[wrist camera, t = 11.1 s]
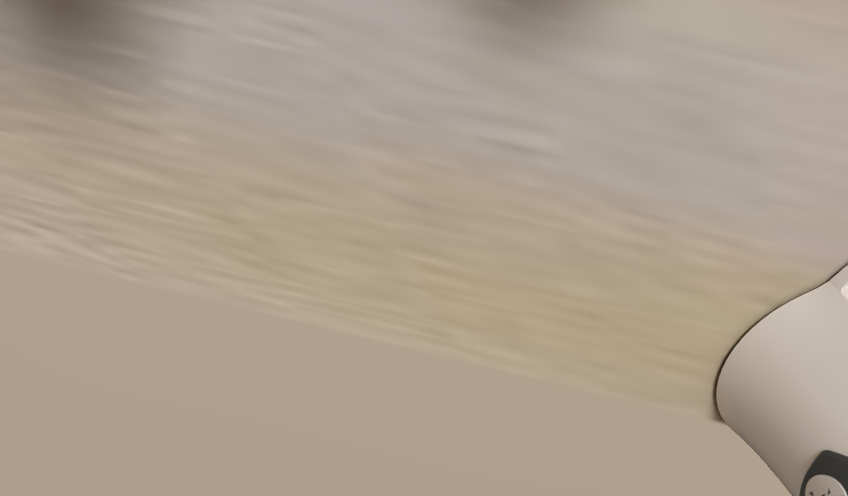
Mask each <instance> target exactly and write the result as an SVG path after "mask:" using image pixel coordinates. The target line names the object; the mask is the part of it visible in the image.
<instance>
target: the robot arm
mask: <svg viewBox="0 0 848 496" xmlns="http://www.w3.org/2000/svg"><path fill="white" fill-rule="evenodd" d="M716 398H717V406H718V409H719V412H720V414H721V416H722V418H723V420H724V421H725V423H726V424H727V425H728V426H729V427H730V428H731V429H732V430H733V431H734V432H736V433H737V434H738V435H739V436H740V437H741V438H742V439H743V440H744V441H745V442H746V443H747V444H748V445H749V446H750V447H751V448H752V449H753V450H754V451H755V452H756V453H757V454H758V455H759V456H760V457H761V458H762V460H763V461H764V462H765V463H766V464H767V465H768V467H769V468H770V469H771V470H772V471H773V472H774V473H775V475H776V476H777V477H778V478H779V479H780V481H781V482H782V483H783V484H784V486H785V487H786V488H787V489H788V491H789V492H790V493H791V494H792V496H848V265H847V266H846V267H844V268H843V269H842V270H841V271H840V272H839V273H837V274H836V275H835V276H834V277H833V278H832V279H831V280H829V281H828V282H827V283H825V284H823V285H822V286H820V287H818V288H816V289H814V290H812V291H810V292H808V293H806V294H804V295H802V296H800V297H797V298H795V299H793V300H792V301H790V302H788V303H786V304H784V305H783V306H781V307H779V308H778V309H776V310H775V311H773V312H772V313H770V314H769V315H768V316H766V317H765V318H764V319H762V320H761V321H760V322H759V323H758V324H756V325H755V326H754V327H753V328H752V329H751V330H750V331H749V332H748V333H747V334H746V335H745V336H744V337H743V338H742V339H741V340H740V342H739V343H738V344H737V345H736V347H735V348H734V349H733V351H732V352H731V354H730V355H729V357H728V359H727V360H726V362H725V364H724V366H723V368H722V371H721V373H720V376H719V380H718V384H717V392H716Z"/></svg>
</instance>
